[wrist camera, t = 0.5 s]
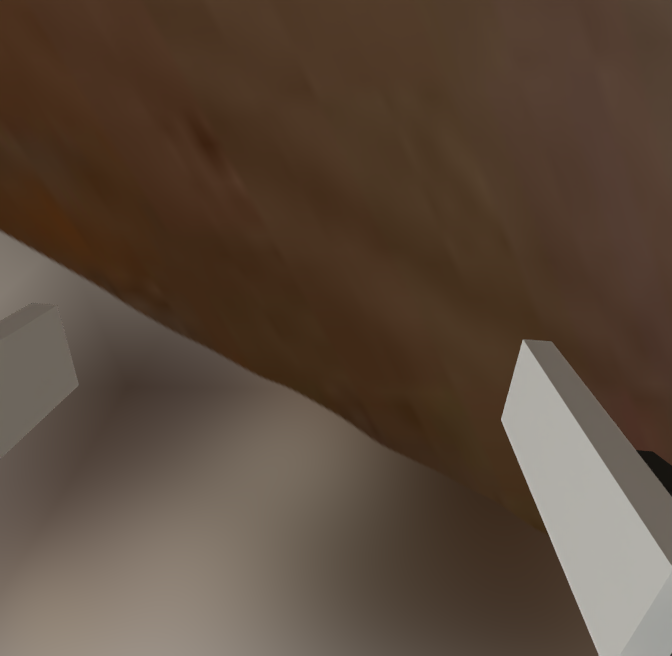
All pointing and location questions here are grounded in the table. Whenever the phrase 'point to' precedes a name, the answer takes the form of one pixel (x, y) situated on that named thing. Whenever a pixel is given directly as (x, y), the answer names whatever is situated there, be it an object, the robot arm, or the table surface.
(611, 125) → the table surface
